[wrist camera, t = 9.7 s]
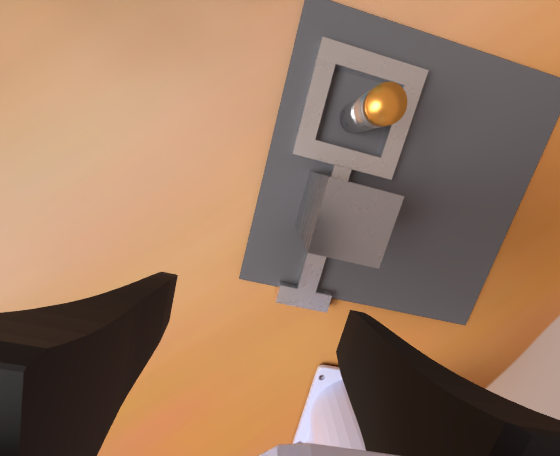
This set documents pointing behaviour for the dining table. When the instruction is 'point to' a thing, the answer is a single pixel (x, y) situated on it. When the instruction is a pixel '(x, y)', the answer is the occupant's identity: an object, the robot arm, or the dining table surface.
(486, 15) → the dining table surface
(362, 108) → the pin
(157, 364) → the dining table surface
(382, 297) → the mat
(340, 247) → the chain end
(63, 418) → the robot arm
